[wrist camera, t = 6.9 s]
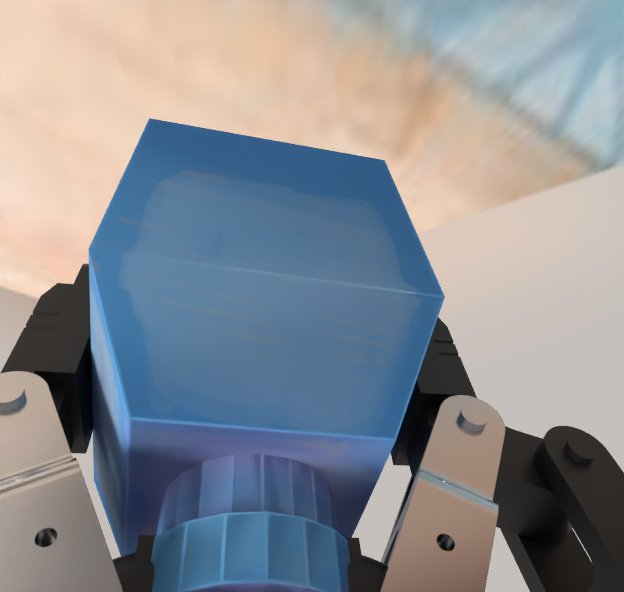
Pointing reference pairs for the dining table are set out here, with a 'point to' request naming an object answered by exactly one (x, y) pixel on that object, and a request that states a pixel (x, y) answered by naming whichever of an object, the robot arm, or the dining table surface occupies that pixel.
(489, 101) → the dining table surface
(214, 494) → the perfume bottle
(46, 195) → the dining table surface
